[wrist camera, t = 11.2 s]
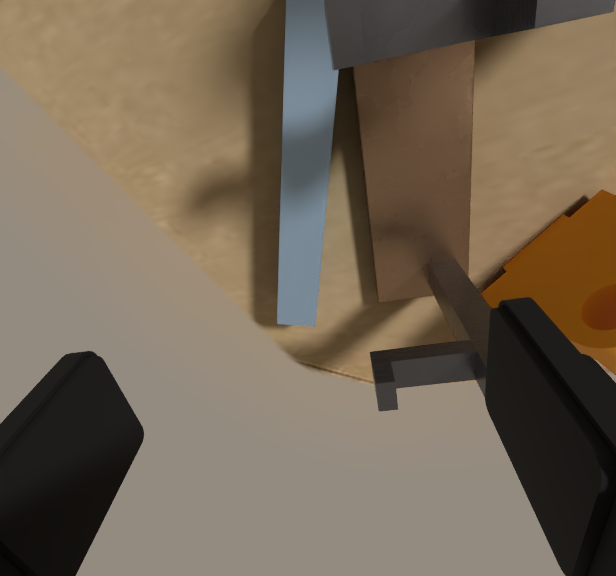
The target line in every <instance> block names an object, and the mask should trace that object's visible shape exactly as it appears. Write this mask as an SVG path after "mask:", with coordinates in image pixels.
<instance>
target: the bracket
mask: <svg viewBox="0 0 616 576" xmlns="http://www.w3.org/2000/svg"><path fill="white" fill-rule="evenodd" d="M503 268H504V269H505V270H506V271H507V272H505V273H504V274H503V275H502V276H501V277H500V278H498V279H497V280H496V281H495V282H494V283H493V284H491V285H490V286H489V287H488V288H487V289H486V290H484V291H483V292H482V293H481V295H482V296H483V298H484V299H485V300H486V302H487V303H488V305H489V306H490V307H491V308H498V305H499V303H500V301H502V300H508V299H516V298H525V297H530V298H532V299H533V300H534V301H535V302H536V303H537V304H538V305H539V306H540V308H541V309H542V310H543V311H544V312H545V313H546V314H547V316H548V317H549V318H550V319H551V320H552V321H553V322H554V323H555V325H556V326H557V327H558V328H559V329H560V330H561V331H562V333H563V334H564V335H565V336H566V337H567V338H568V339H569V340H570V342H571V343H572V344H573V345H574V346H575V347H576V348H577V349H578V351H579V352H580V353H582V354H586V355H588V356H590V357H591V358H593V359H595V360H598V361H599V362H600V363H601V364H602V365H604V366H605V367H606V368H607V369H609V370H610V371H611V372H612V373H614V374H615V375H616V196H615V195H613V194H611V193H609V192H606V191H604V190H601V191H600V192H599V193H597V194H596V195H595V196H594V197H593V198H592V199H590V200H589V201H588V202H587V203H586V204H585V205H583V206H582V207H581V208H580V209H579V210H578V211H576V212H575V213H574V214H573V215H572V216H571V217H567V216H565V215H564V214H563V215H562V216H561V217H560V218H558V219H557V220H556V221H555V222H554V223H553V224H551V225H550V226H549V227H548V228H547V229H546V230H545V231H543V232H542V233H541V234H540V235H539V236H538V237H537V238H535V239H534V240H533V241H532V242H531V243H530V244H528V245H527V246H526V247H525V248H524V249H523V250H522V251H520V252H519V253H518V254H517V255H516V256H515V257H514V258H512V259H511V260H510V261H509V262H508V263H507V264H506V265H504V266H503Z"/></svg>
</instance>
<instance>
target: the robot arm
mask: <svg viewBox="0 0 616 576" xmlns="http://www.w3.org/2000/svg"><path fill="white" fill-rule="evenodd" d="M485 401H486V406H487V409H488V412H489V415H490V417H491V419H492V421H493V423H494V426H495V428H496V430H497V432H498V434H499V436H500V438H501V441H502V443H503V445H504V447H505V449H506V451H507V454H508V456H509V458H510V460H511V462H512V464H513V467H514V469H515V471H516V473H517V475H518V477H519V480H520V482H521V484H522V486H523V488H524V490H525V492H526V495H527V497H528V499H529V501H530V503H531V505H532V508H533V510H534V512H535V514H536V516H537V518H538V521H539V523H540V525H541V527H542V529H543V531H544V533H545V536H546V538H547V540H548V542H549V544H550V547H551V549H552V551H553V553H554V555H555V557H556V560H557V562H558V564H559V566H560V567H561V570H562V571H563V573H564V574H565V575H566V576H616V383H615V382H614V381H613V380H612V378H611V377H610V376H609V375H608V374H607V373H606V372H605V371H604V370H603V369H602V367H601V366H600V365H599V364H598V363H597V362H596V361H595V360H594V359H593V358H591V357H590V356H588V355H586V354H581V353H580V352H579V351H578V349H577V348H576V347H575V346H574V345H573V344H572V343H571V342H570V340H569V339H568V338H567V337H566V336H565V335H564V334H563V333H562V331H561V330H560V329H559V328H558V327H557V326H556V325H555V323H554V322H553V321H552V320H551V319H550V318H549V317H548V316H547V314H546V313H545V312H544V311H543V310H542V309H541V308H540V306H539V305H538V304H537V303H536V302H535V301H534V300H533V299H532V298H530V297H525V298H516V299H508V300H502V301H500V303H499V305H498V308H492V309H491V312H490V324H489V340H488V356H487V372H486V388H485ZM143 438H144V431H143V427H142V426H141V424H140V422H139V420H138V418H137V417H136V415H135V414H134V412H133V410H132V408H131V406H130V405H129V403H128V401H127V399H126V398H125V396H124V394H123V393H122V391H121V390H120V388H119V386H118V384H117V382H116V381H115V379H114V377H113V375H112V374H111V372H110V370H109V369H108V367H107V365H106V363H105V362H104V360H103V359H102V358H101V357H100V356H97V355H96V354H95V353H94V352H92V351H86V352H77V353H70V354H66V355H65V356H64V357H62V358H61V359H60V360H59V362H57V364H56V365H55V366H54V367H53V368H52V369H51V370H50V371H49V372H48V373H47V374H46V375H45V376H44V378H43V379H42V380H41V381H40V382H39V383H38V384H37V385H36V386H35V387H34V388H33V389H32V391H30V393H29V394H28V395H27V396H26V397H25V398H24V399H23V400H22V401H21V402H20V404H19V405H18V406H17V407H16V408H15V409H14V410H13V411H12V412H11V413H10V414H9V415H8V416H7V417H6V418H5V420H4V421H3V422H2V423H1V424H0V576H76V574H77V572H78V570H79V568H80V566H81V564H82V562H83V560H84V558H85V556H86V554H87V552H88V549H89V548H90V546H91V544H92V542H93V540H94V538H95V536H96V534H97V532H98V530H99V528H100V526H101V524H102V522H103V520H104V518H105V516H106V514H107V512H108V510H109V508H110V506H111V504H112V502H113V500H114V498H115V496H116V494H117V492H118V490H119V488H120V486H121V484H122V482H123V480H124V478H125V476H126V474H127V472H128V470H129V468H130V466H131V464H132V461H133V460H134V458H135V456H136V454H137V452H138V450H139V448H140V446H141V444H142V442H143Z"/></svg>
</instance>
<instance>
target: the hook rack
mask: <svg viewBox="0 0 616 576" xmlns="http://www.w3.org/2000/svg"><path fill="white" fill-rule="evenodd" d="M614 5H615V0H324V10H325V18H326V25H327V33H328V40H329V48H330V55H331V63H332V70H338V69H343V68H348V67H352V73H353V82H354V91H355V100H356V109H357V118H358V127H359V136H360V145H361V154H362V163H363V173H364V182H365V191H366V200H367V209H368V218H369V227H370V236H371V245H372V254H373V263H374V272H375V281H376V290H377V296H378V300H379V303H380V302H387V301H394V300H402V299H409V298H416V297H423V296H431V295H434V296H435V298H436V300H437V302H438V304H439V306H440V308H441V310H442V312H443V314H444V316H445V318H446V320H447V322H448V324H449V326H450V328H451V330H452V332H453V334H454V336H455V338H456V340H457V341H455V342H447V343H439V344H431V345H423V346H415V347H406V348H398V349H390V350H382V351H374V352H370V357H371V364H372V372H373V379H374V385H375V391H376V397H377V402H378V409H379V411H388V410H397V409H398V405H397V394H396V388H404V387H413V386H422V385H431V384H440V383H449V382H458V381H467V380H476V381H477V383H478V385H479V387H480V389H481V391H482V392H483V394H484V396H485V388H486V372H487V356H488V340H489V324H490V312H491V309H490V307H489V306H488V304H487V303H486V302H485V300H484V299H483V297H482V296H481V294H480V293H479V292H478V290H477V289H476V287H475V286H474V285H473V283H472V282H471V280H470V279H469V277H468V268H469V233H470V198H471V162H472V127H473V92H474V56H475V40H477V39H482V38H487V37H492V36H497V35H502V34H507V33H513V32H518V31H523V30H529V29H534V28H539V27H544V26H548V25H553V24H558V23H563V22H567V21H572V20H577V19H581V18H586V17H591V16H596V15H600V14H605V13H610V12H613V10H614Z"/></svg>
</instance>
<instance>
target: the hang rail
mask: <svg viewBox="0 0 616 576" xmlns="http://www.w3.org/2000/svg"><path fill="white" fill-rule="evenodd" d="M338 72H339V69H338V70H332V63H331V55H330V48H329V40H328V33H327V25H326V18H325V10H324V0H286V23H285V58H284V93H283V128H282V164H281V199H280V234H279V269H278V305H277V324H284V325H298V326H313V327H315V324H316V313H317V302H318V291H319V280H320V269H321V258H322V247H323V236H324V225H325V215H326V204H327V193H328V182H329V171H330V160H331V149H332V138H333V127H334V116H335V105H336V94H337V83H338Z"/></svg>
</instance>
